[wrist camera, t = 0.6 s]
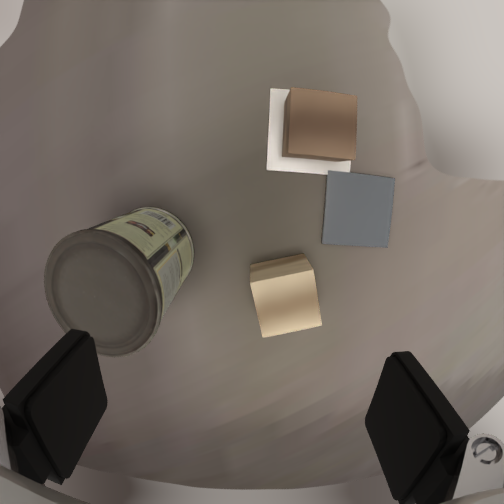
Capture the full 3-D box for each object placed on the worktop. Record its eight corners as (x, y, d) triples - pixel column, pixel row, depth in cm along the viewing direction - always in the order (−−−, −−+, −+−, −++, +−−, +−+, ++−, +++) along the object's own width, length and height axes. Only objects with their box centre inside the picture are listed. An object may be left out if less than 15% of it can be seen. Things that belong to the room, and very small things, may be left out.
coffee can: (115, 291, 35) (56, 348, 22) (109, 207, 33) (35, 229, 19) (196, 296, 35) (166, 366, 22) (195, 207, 33) (156, 231, 19)
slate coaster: (327, 170, 32) (328, 170, 31) (393, 178, 32) (394, 178, 31) (321, 242, 34) (322, 243, 33) (385, 246, 34) (387, 247, 33)
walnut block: (284, 102, 30) (291, 87, 24) (339, 108, 30) (357, 96, 24) (281, 156, 31) (288, 153, 25) (337, 161, 31) (355, 160, 25)
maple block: (250, 264, 35) (250, 282, 29) (303, 253, 34) (313, 269, 28) (261, 312, 36) (262, 337, 30) (311, 301, 36) (321, 325, 30)
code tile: (270, 89, 30) (270, 88, 29) (351, 98, 30) (352, 97, 29) (266, 170, 32) (266, 170, 31) (348, 177, 32) (349, 177, 32)
